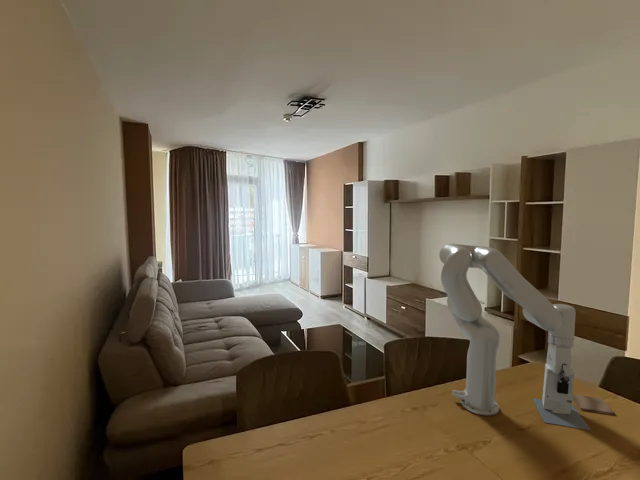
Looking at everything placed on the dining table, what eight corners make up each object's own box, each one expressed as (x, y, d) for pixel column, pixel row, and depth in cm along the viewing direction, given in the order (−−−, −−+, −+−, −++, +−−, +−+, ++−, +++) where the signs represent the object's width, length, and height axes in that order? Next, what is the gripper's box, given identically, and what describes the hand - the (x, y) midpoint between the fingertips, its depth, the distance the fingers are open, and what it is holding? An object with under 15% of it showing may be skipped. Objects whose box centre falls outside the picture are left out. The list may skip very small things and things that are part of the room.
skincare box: (543, 409, 124) (545, 368, 123) (541, 401, 130) (544, 362, 129) (572, 415, 121) (574, 374, 119) (569, 407, 126) (571, 367, 125)
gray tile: (544, 422, 117) (544, 422, 117) (532, 398, 132) (532, 398, 132) (590, 430, 113) (590, 429, 113) (572, 404, 128) (572, 404, 128)
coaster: (580, 409, 125) (580, 407, 124) (570, 395, 134) (570, 393, 134) (614, 415, 121) (614, 413, 121) (601, 400, 131) (601, 398, 131)
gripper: (541, 330, 133) (539, 374, 134) (556, 347, 116) (553, 397, 118) (564, 332, 130) (561, 377, 132) (583, 350, 114) (579, 401, 115)
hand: (557, 386), depth 125 cm, fingers open, 8 cm apart
